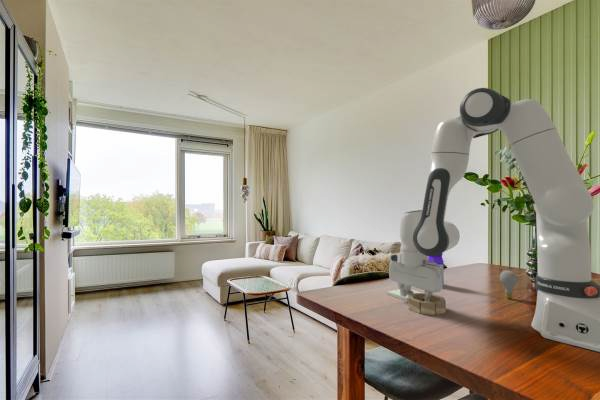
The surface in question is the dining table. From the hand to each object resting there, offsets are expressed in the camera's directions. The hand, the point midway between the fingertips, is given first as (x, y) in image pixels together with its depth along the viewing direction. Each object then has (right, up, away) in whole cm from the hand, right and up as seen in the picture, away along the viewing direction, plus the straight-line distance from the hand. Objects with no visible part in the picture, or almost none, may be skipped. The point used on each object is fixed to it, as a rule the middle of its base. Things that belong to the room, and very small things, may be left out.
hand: (414, 299), depth 110 cm
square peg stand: (+1, -2, +11) cm, 11 cm away
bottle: (+18, -2, +26) cm, 32 cm away
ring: (+2, -2, -4) cm, 5 cm away
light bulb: (+36, -2, +6) cm, 36 cm away
